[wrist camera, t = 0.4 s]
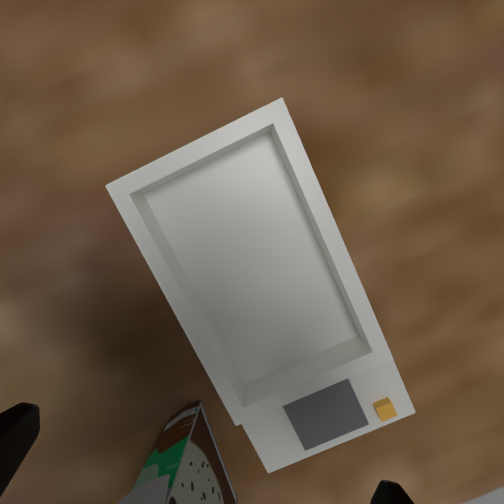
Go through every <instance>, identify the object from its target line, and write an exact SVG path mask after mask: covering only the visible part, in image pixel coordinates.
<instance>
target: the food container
mask: <svg viewBox="0 0 504 504" xmlns="http://www.w3.org/2000/svg"><path fill="white" fill-rule="evenodd" d="M237 501H238V499H237V496H236V494H235V491H234V488H233V486H232V483H231V480H230V477H229V475H228V472H227V469H226V467H225V464H224V461H223V459H222V456H221V453H220V451H219V448H218V445H217V442H216V440H215V437H214V434H213V432H212V429H211V426H210V424H209V421H208V418H207V416H206V413H205V410H204V407H203V405H202V402H201V400H200V401H197V402H195V403H192V404H189V405H187V406H185V407H184V408H183V409H181V410H180V411H179V412H177V413H176V414H174V415H173V416H172V417H171V418H170V419H169V421H168V422H167V424H166V425H165V426H164V428H163V429H162V431H161V433H160V435H159V437H158V439H157V441H156V443H155V445H154V447H153V449H152V451H151V453H150V455H149V457H148V459H147V461H146V463H145V465H144V467H143V469H142V471H141V473H140V475H139V477H138V479H137V481H136V483H135V485H134V487H133V489H132V491H131V492H130V493H129V494H128V495H126V496H125V497H124V498H122V499H121V500H120V501H119V502H118V503H117V504H237Z"/></svg>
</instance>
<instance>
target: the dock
mask: <svg viewBox="0 0 504 504" xmlns="http://www.w3.org/2000/svg"><path fill="white" fill-rule="evenodd" d="M105 186H106V188H107V190H108V192H109V194H110V196H111V197H112V199H113V201H114V203H115V205H116V207H117V209H118V210H119V212H120V214H121V216H122V218H123V220H124V221H125V223H126V225H127V227H128V229H129V231H130V232H131V234H132V236H133V238H134V240H135V242H136V244H137V245H138V247H139V249H140V251H141V253H142V255H143V256H144V258H145V260H146V262H147V264H148V266H149V267H150V269H151V271H152V273H153V275H154V277H155V278H156V280H157V282H158V284H159V286H160V288H161V290H162V291H163V293H164V295H165V297H166V299H167V301H168V302H169V304H170V306H171V308H172V310H173V312H174V313H175V315H176V317H177V319H178V321H179V323H180V324H181V326H182V328H183V330H184V332H185V334H186V336H187V337H188V339H189V341H190V343H191V345H192V347H193V348H194V350H195V352H196V354H197V356H198V358H199V359H200V361H201V363H202V365H203V367H204V369H205V371H206V372H207V374H208V376H209V378H210V380H211V382H212V383H213V385H214V387H215V389H216V391H217V393H218V394H219V396H220V398H221V400H222V402H223V404H224V405H225V407H226V409H227V411H228V413H229V415H230V417H231V418H232V420H233V422H234V424H235V426H237V425H240V424H242V426H243V428H244V430H245V431H246V433H247V435H248V437H249V439H250V441H251V443H252V444H253V446H254V448H255V450H256V452H257V454H258V456H259V457H260V459H261V461H262V463H263V465H264V467H265V469H266V470H267V472H268V473H271V472H273V471H276V470H278V469H280V468H283V467H285V466H288V465H290V464H292V463H295V462H297V461H300V460H302V459H305V458H307V457H309V456H312V455H314V454H317V453H319V452H322V451H324V450H326V449H329V448H331V447H334V446H336V445H338V444H341V443H343V442H346V441H348V440H351V439H353V438H355V437H358V436H360V435H363V434H365V433H367V432H370V431H372V430H375V429H377V428H380V427H382V426H384V425H387V424H389V423H392V422H394V421H397V420H399V419H401V418H404V417H406V416H409V415H411V414H413V413H416V412H415V410H414V407H413V405H412V403H411V400H410V398H409V396H408V393H407V391H406V389H405V386H404V384H403V381H402V379H401V377H400V374H399V372H398V370H397V367H396V365H395V363H394V360H393V357H392V355H391V352H390V350H389V348H388V345H387V343H386V341H385V338H384V336H383V334H382V331H381V329H380V327H379V324H378V322H377V319H376V317H375V315H374V312H373V310H372V308H371V305H370V303H369V301H368V298H367V296H366V294H365V291H364V289H363V286H362V284H361V282H360V279H359V277H358V275H357V272H356V270H355V268H354V265H353V263H352V261H351V258H350V256H349V253H348V251H347V249H346V246H345V244H344V242H343V239H342V237H341V235H340V232H339V230H338V228H337V225H336V223H335V220H334V218H333V216H332V213H331V211H330V209H329V206H328V204H327V202H326V199H325V197H324V195H323V192H322V190H321V187H320V185H319V183H318V180H317V178H316V176H315V173H314V171H313V169H312V166H311V164H310V162H309V159H308V157H307V154H306V152H305V150H304V147H303V145H302V143H301V140H300V138H299V136H298V133H297V131H296V129H295V126H294V124H293V121H292V119H291V117H290V114H289V112H288V110H287V107H286V105H285V103H284V100H283V98H280V99H278V100H276V101H274V102H272V103H270V104H268V105H266V106H264V107H262V108H260V109H258V110H256V111H254V112H252V113H250V114H248V115H246V116H244V117H241V118H239V119H237V120H235V121H233V122H231V123H229V124H227V125H225V126H223V127H221V128H219V129H217V130H215V131H213V132H211V133H209V134H207V135H205V136H203V137H201V138H199V139H197V140H195V141H193V142H191V143H189V144H187V145H185V146H183V147H181V148H179V149H177V150H175V151H173V152H171V153H169V154H167V155H165V156H163V157H161V158H159V159H157V160H155V161H153V162H151V163H149V164H147V165H145V166H143V167H141V168H139V169H137V170H135V171H133V172H131V173H129V174H127V175H125V176H123V177H121V178H119V179H117V180H115V181H113V182H111V183H109V184H107V185H105Z"/></svg>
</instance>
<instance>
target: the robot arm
mask: <svg viewBox="0 0 504 504" xmlns="http://www.w3.org/2000/svg"><path fill="white" fill-rule="evenodd" d="M39 430H40V416H39V407H38V406H37V405H35V404H30V403H25V402H23V403H19V404H17V405H15V406H13V407H11V408H9V409H8V410H6V411H4V412H2V413H0V497H1V495H2V494H3V492H4V491H5V489H6V487H7V486H8V484H9V482H10V481H11V479H12V477H13V476H14V474H15V473H16V471H17V469H18V468H19V466H20V464H21V463H22V461H23V459H24V458H25V456H26V455H27V453H28V451H29V450H30V448H31V446H32V445H33V443H34V441H35V440H36V438H37V436H38V434H39ZM370 504H414V503H413V501H412V500H411V499H410V497H409V496H408V495H407V494H406V492H405V491H404V490H403V488H402V487H401V486H400V485H399V484H398V483H396V482H393V481H388V480H381V481H380V483H379V484H378V487H377V489H376V491H375V493H374V495H373V497H372V499H371V503H370Z"/></svg>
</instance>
